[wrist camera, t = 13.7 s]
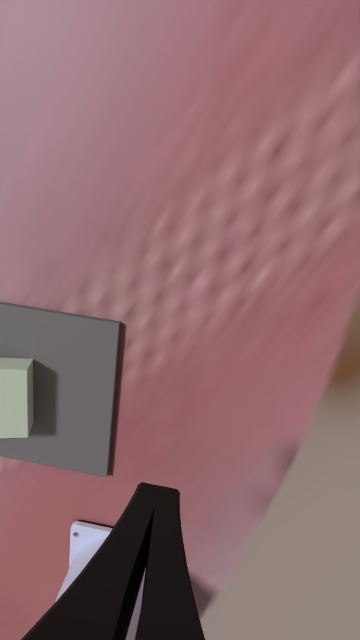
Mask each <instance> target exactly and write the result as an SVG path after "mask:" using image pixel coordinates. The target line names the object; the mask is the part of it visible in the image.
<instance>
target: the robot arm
mask: <svg viewBox="0 0 360 640" xmlns="http://www.w3.org/2000/svg"><path fill="white" fill-rule="evenodd" d="M21 640H205V638H204V634H203V631H202V627H201V623H200V620H199V616H198V612H197V608H196V604H195V600H194V595H193V591H192V586H191V582H190V577H189V572H188V567H187V562H186V556H185V550H184V544H183V537H182V530H181V520H180V492H179V491H178V490H177V489H173V488H168V487H163V486H158V485H153V484H148V483H143V482H142V483H140V484H138V486H137V489H136V491H135V493H134V495H133V497H132V498H131V500H130V502H129V504H128V505H127V507H126V509H125V510H124V512H123V514H122V515H121V517H120V518H119V520H118V521H117V523H116V524H115V526H114V527H113V528H109V527H104V526H99V525H95V524H90V523H85V522H80V521H75V522H74V523H73V524H72V526H71V535H70V560H69V571H68V573H67V575H66V578H65V580H64V582H63V585H62V587H61V589H60V591H59V594H58V596H57V598H56V601H55V603H54V604H53V606H52V607H51V608H50V609H49V610H48V611H47V612H46V613H45V614H44V615H43V617H42V618H41V619H40V620H39V621H38V622H37V623H36V624H35V625H34V626H33V627H32V629H31V630H30V631H29V632H28V633H27V634H26V635H25V636H24V637H23V638H22V639H21Z"/></svg>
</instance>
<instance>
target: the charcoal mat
mask: <svg viewBox="0 0 360 640" xmlns="http://www.w3.org/2000/svg"><path fill="white" fill-rule="evenodd" d="M120 326H121V322H119V321H113V320H107V319H101V318H95V317H89V316H83V315H77V314H70V313H64V312H58V311H52V310H46V309H40V308H34V307H28V306H22V305H16V304H10V303H4V302H0V358H25V359H33V417H34V423H33V425H32V428H31V430H30V433H29V436H28V438H0V456H2V457H7V458H12V459H17V460H22V461H27V462H32V463H37V464H42V465H47V466H52V467H57V468H62V469H67V470H72V471H77V472H82V473H87V474H92V475H97V476H102V477H107V475H108V472H109V460H110V447H111V435H112V423H113V411H114V399H115V387H116V375H117V362H118V350H119V338H120Z"/></svg>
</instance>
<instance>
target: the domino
mask: <svg viewBox="0 0 360 640" xmlns="http://www.w3.org/2000/svg"><path fill="white" fill-rule="evenodd" d="M33 423H34V417H33V359H25V358H0V438H28V436H29V433H30V430H31V428H32V425H33Z"/></svg>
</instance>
